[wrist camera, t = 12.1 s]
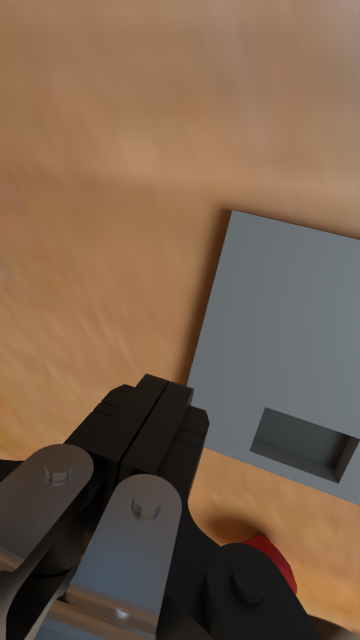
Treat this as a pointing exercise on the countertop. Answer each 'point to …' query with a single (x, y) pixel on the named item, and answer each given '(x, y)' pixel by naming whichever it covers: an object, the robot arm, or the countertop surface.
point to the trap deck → (284, 353)
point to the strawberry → (273, 557)
